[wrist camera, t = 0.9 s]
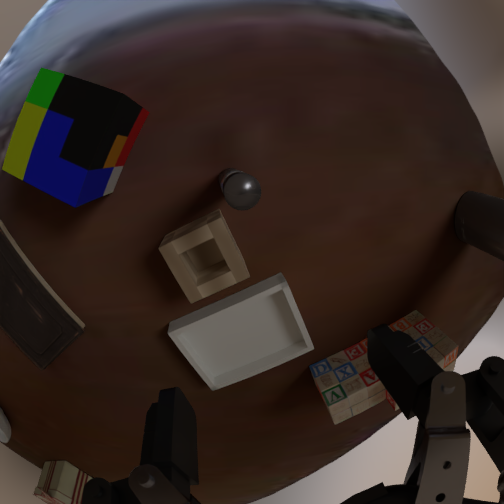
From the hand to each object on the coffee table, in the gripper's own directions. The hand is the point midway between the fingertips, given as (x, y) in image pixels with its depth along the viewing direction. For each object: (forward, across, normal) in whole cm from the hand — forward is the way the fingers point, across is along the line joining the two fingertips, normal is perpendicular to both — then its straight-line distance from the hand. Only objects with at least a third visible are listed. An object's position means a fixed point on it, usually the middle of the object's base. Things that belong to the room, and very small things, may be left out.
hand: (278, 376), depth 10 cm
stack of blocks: (+24, -17, +26) cm, 39 cm away
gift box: (+24, +70, +55) cm, 92 cm away
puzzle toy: (+24, +12, -15) cm, 31 cm away
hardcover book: (+24, +35, 0) cm, 43 cm away
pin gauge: (+24, -1, -6) cm, 24 cm away
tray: (+23, +2, +14) cm, 28 cm away
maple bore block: (+24, +4, +1) cm, 24 cm away
